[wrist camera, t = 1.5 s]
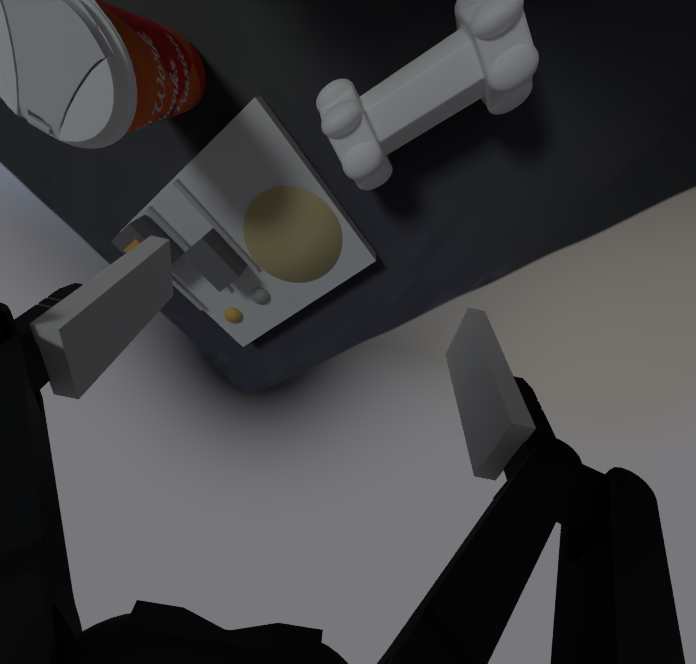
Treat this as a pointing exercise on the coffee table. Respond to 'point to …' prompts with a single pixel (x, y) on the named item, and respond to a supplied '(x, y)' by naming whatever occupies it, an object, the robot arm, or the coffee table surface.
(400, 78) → the bone shaped toy
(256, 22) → the coffee table surface
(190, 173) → the panel
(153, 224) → the tagged breaker
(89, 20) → the coffee cup
